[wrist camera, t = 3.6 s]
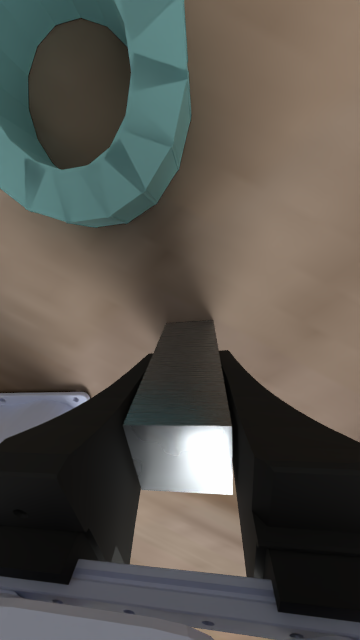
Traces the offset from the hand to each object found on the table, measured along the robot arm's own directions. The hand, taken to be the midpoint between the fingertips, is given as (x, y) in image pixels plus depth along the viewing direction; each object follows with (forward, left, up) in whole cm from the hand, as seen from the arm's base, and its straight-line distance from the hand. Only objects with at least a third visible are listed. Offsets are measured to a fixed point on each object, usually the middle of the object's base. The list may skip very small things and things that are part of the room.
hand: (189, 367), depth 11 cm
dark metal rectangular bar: (0, 0, -3) cm, 3 cm away
